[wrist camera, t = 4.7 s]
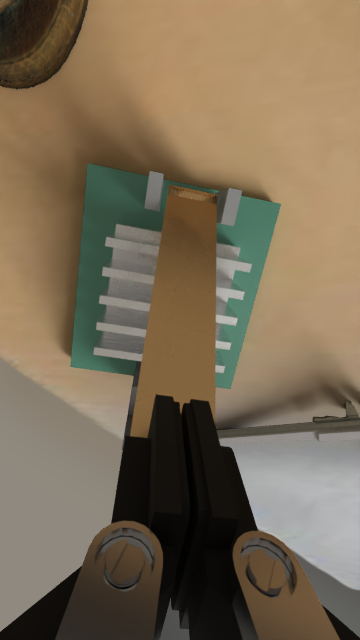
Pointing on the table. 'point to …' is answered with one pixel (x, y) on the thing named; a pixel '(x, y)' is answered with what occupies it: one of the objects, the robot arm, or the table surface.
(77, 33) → the owl figurine
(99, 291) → the motherboard
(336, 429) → the caliper
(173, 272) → the strap
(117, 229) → the heat sink
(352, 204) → the table surface
